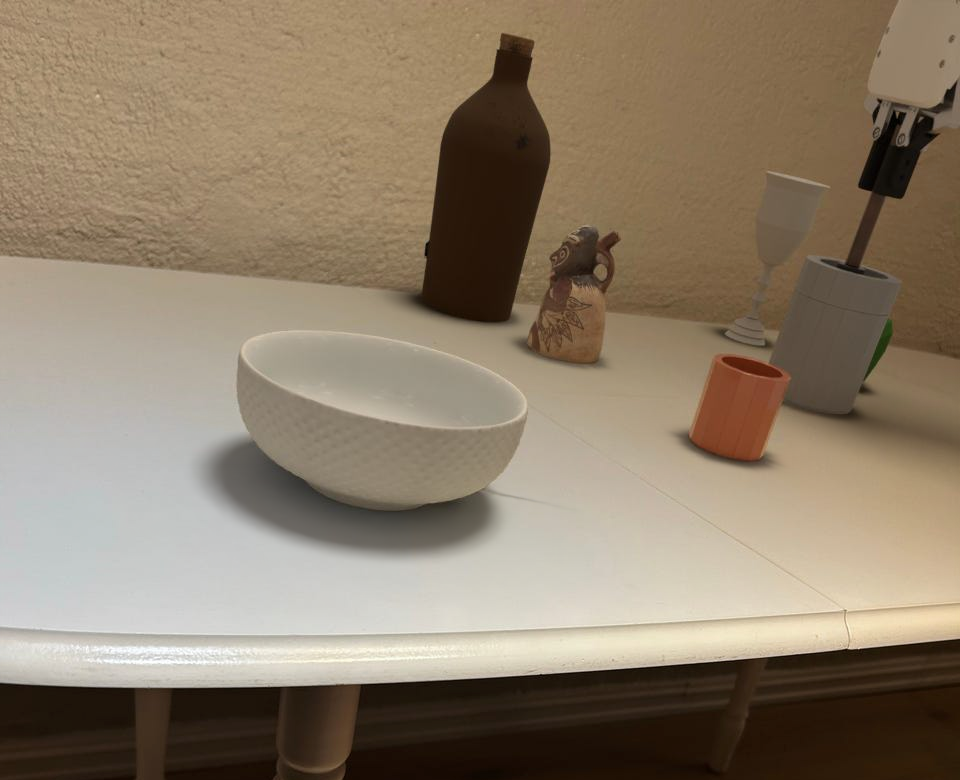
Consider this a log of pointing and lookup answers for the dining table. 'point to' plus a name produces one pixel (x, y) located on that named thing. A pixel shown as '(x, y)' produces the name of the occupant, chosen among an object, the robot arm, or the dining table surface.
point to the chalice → (778, 239)
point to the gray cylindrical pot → (832, 333)
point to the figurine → (575, 298)
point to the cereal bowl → (377, 417)
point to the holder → (738, 407)
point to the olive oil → (487, 193)
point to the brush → (866, 227)
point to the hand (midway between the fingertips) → (880, 192)
